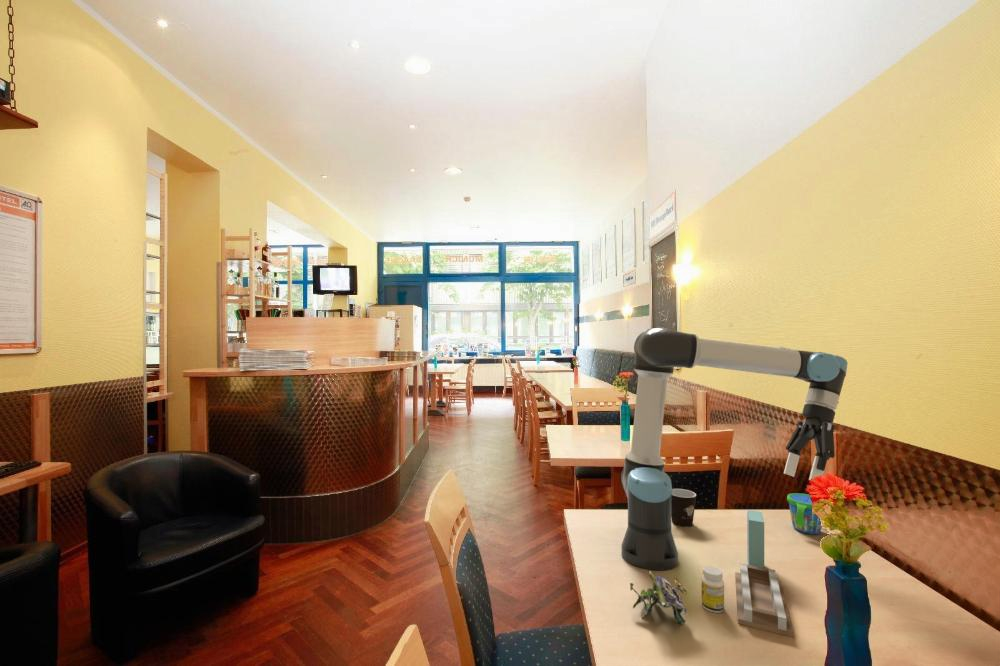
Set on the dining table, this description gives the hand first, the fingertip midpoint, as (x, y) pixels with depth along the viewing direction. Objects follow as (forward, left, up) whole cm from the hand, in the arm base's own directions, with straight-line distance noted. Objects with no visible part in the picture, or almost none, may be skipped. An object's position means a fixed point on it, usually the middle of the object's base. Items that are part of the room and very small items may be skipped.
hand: (801, 478), depth 128 cm
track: (-17, -29, -22) cm, 40 cm away
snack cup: (+8, +21, -22) cm, 32 cm away
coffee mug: (-31, +15, -22) cm, 41 cm away
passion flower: (-40, -42, -22) cm, 62 cm away
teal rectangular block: (-14, -11, -22) cm, 29 cm away
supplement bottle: (-28, -34, -22) cm, 49 cm away
